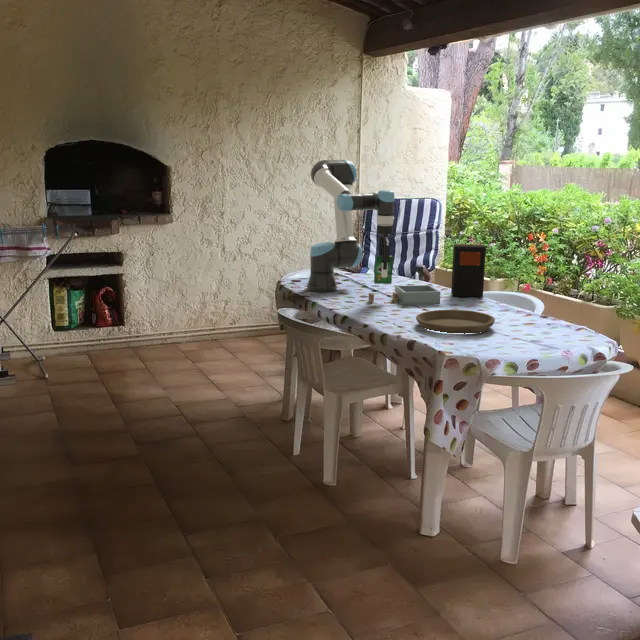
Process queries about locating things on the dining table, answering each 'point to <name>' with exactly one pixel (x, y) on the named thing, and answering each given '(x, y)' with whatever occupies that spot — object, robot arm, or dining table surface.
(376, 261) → the coffee box
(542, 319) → the dining table surface
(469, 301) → the dining table surface
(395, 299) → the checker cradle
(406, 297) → the slate bin
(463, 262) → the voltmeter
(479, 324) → the plant saucer
